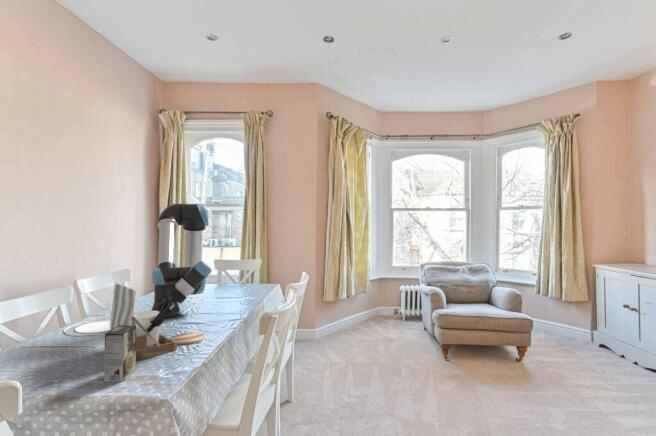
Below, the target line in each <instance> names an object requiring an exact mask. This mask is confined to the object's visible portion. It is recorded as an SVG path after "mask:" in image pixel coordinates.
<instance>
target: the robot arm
mask: <svg viewBox="0 0 656 436" xmlns="http://www.w3.org/2000/svg"><path fill="white" fill-rule="evenodd" d="M179 226H182V229H183V230H184V231H185V247H184V251H185V252H184V266H177V267H176V260H177V259H176V258H177V256H176V251H177V249H176V248H177V245H176V244H177V228H178V227H179ZM207 226H209V214H208V207H207V206H206V205H205V204H201V203H200V204H199V203H173V204H170V205H168V206H167V207H165V208H164V209H163V210H162V211H161V212H160V215H159V216H158V219H157V227H158V229H159V233H158V235H159V238H158V254H157V256H158V258H157V267H155V268H153V269H152V283H153V285H154V299H153V305H152V307H151V310H150V311H159V314H158V315H157V316H156V317H155V319H154V320H153V321H150V323H149V324H148V325H147V326H146V327H145V329H146V330H147V331H148V332H149V333H150V332H151V331H152V330H153V329H154V328H155V327H157V326H158V327H159V326H160V327H161V324H162V323H164V321H165V320H166V319H170V318H175V317H178V316H179V314H181V309H180V306H179V304H183V302H185V300H186V299H187V297H189V296H191V295H192V296H196V295H200V294H203V293H204V291H205V289H206V288H205V287H206V279H207V277H209V275H210V274H211V273H212V272H213V270H212V268H211V266H209V265H208V264H207V263H205V262H204V261H203V260H202V248H203V247H202V246H203V232H204V231H205V230H206V227H207ZM141 335H146V336H147V334H146V333H145V332H144V331H143V330H142V331H141V332H140V334H139V335H138V336H141Z"/></svg>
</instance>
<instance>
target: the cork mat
mask: <svg viewBox="0 0 656 436" xmlns="http://www.w3.org/2000/svg"><path fill="white" fill-rule="evenodd" d="M170 338H171V339H173V340H175V341H177V346H189V344H190V345H193V344H194V343H195V344H198V343H200V342H202V341H204V339H205V334H203V333H199V332H185V333H178V334H175V335H173V336H170Z"/></svg>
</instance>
